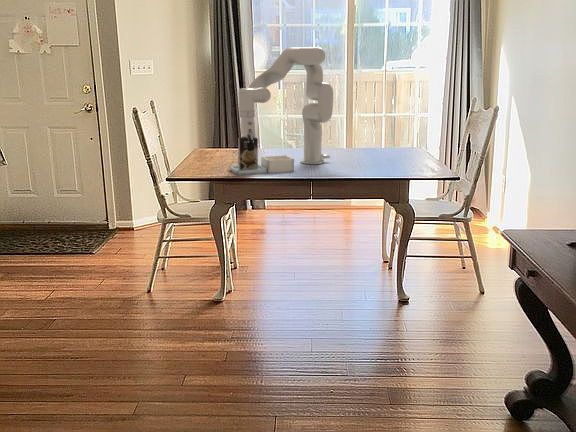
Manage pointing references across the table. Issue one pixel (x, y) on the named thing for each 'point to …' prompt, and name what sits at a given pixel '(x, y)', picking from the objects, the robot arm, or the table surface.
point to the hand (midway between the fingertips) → (248, 149)
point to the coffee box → (247, 155)
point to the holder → (277, 163)
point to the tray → (244, 172)
